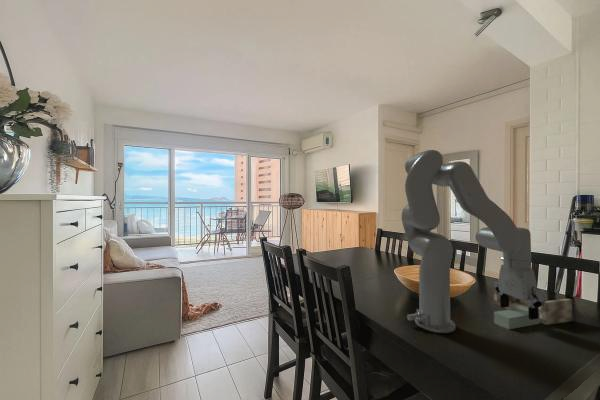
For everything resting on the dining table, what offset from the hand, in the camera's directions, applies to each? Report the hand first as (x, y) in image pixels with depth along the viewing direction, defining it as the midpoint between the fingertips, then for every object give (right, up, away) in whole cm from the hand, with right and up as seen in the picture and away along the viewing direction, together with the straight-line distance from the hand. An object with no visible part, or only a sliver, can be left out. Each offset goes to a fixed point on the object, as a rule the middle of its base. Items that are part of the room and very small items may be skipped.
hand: (518, 312), depth 91 cm
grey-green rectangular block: (-1, -4, 0) cm, 4 cm away
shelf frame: (+12, -3, +9) cm, 15 cm away
